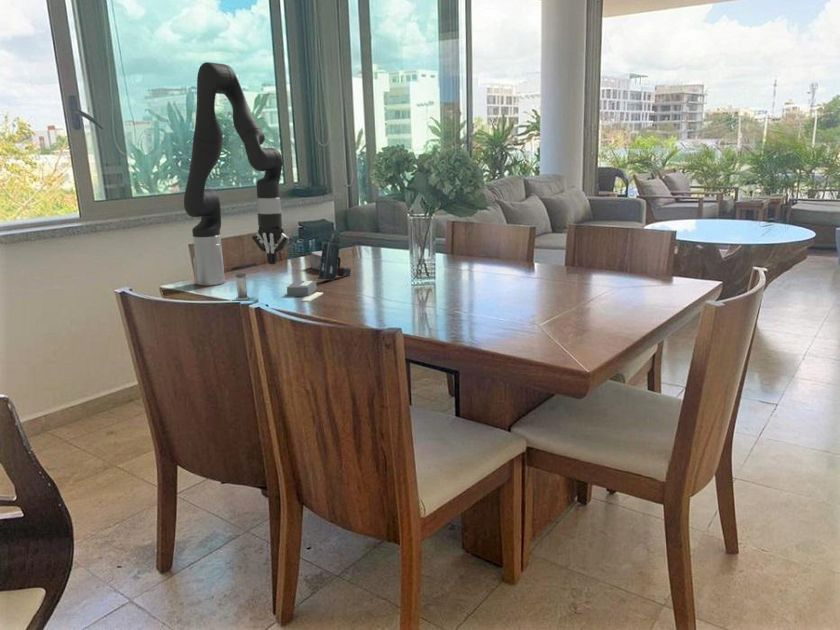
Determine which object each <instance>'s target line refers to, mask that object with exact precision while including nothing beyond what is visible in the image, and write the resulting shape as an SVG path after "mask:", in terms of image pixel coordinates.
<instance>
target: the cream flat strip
mask: <svg viewBox="0 0 840 630" xmlns="http://www.w3.org/2000/svg"><path fill="white" fill-rule="evenodd" d="M323 295H324V292H320V291H319V292H318V291H317V292H313V293H312V294H310V295H309V296H306V297H305V298H304V299H302V300H301V301H302V302H306V303H307V302H311V301H313V300H315V299H317V298H319V297H320V296H323Z"/></svg>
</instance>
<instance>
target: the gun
mask: <svg viewBox="0 0 840 630" xmlns="http://www.w3.org/2000/svg"><path fill="white" fill-rule="evenodd" d="M335 236H336V235H335V233H334V232H331V234H330V238H329V239H328V241H323V242H322V247H321V249H322V250H321V251H322V255H321V259H320V262H321V264H320V271H318V272H319V274H318V276H317V279H318V280H326V281H335V279H336V277H337V276H338V277H345V276H347V277H349V276H351V270H352V269H351V268H349V267H346V268H345V267H341V262H342V261H341V257H340V244H339V243H335V242H336V239H335Z"/></svg>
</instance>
